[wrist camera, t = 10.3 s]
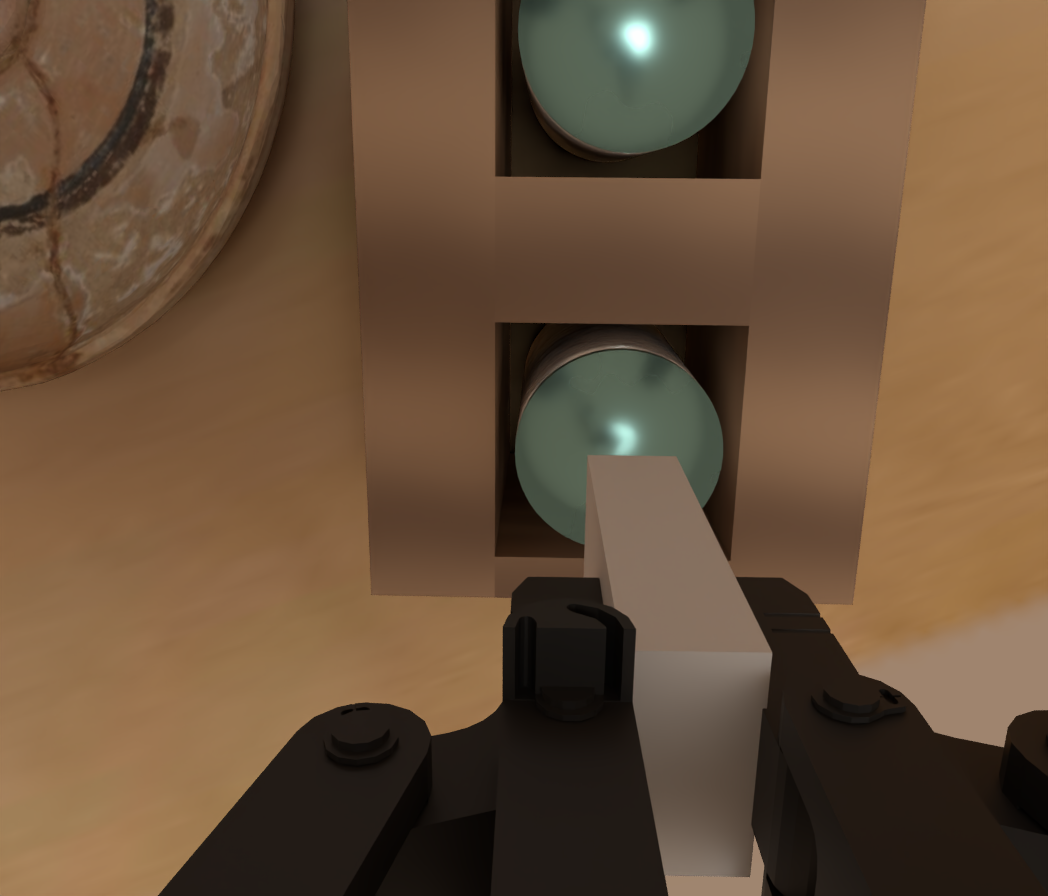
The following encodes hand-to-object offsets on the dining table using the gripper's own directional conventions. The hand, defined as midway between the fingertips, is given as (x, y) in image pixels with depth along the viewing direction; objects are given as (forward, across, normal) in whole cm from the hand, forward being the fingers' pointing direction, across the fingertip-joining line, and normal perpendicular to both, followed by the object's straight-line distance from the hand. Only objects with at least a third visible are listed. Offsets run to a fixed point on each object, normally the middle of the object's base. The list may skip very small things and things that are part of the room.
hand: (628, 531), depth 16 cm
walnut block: (+15, 0, +4) cm, 16 cm away
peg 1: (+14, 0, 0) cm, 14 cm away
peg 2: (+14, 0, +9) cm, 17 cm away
